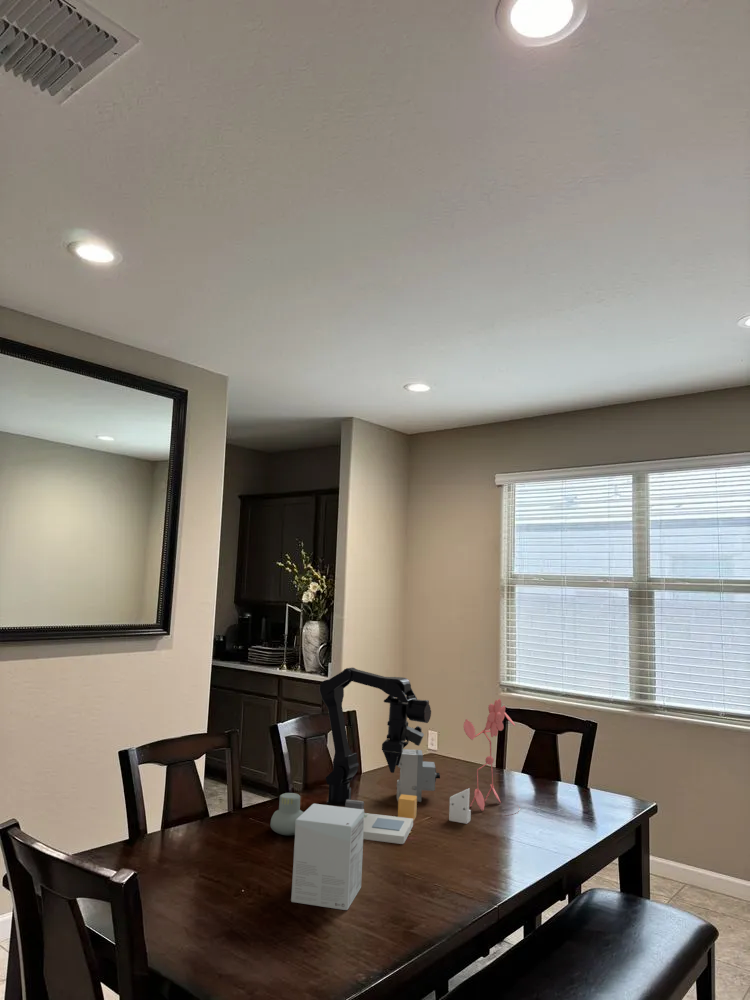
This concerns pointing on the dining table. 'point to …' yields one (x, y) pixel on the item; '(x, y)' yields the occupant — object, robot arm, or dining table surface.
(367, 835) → the breaker panel
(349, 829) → the supplement box
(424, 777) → the circuit breaker
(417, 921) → the dining table surface
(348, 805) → the block
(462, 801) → the white wedge bracket
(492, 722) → the figurine
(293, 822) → the air freshener
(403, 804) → the cap
